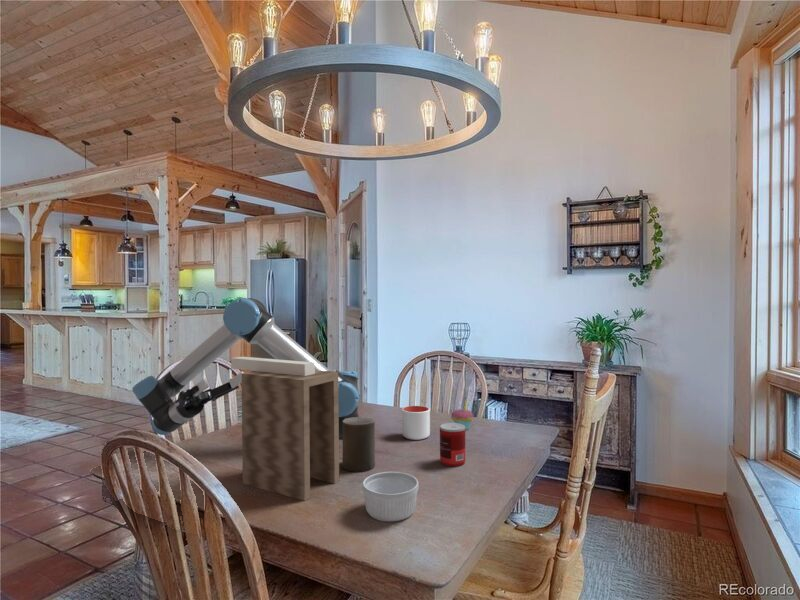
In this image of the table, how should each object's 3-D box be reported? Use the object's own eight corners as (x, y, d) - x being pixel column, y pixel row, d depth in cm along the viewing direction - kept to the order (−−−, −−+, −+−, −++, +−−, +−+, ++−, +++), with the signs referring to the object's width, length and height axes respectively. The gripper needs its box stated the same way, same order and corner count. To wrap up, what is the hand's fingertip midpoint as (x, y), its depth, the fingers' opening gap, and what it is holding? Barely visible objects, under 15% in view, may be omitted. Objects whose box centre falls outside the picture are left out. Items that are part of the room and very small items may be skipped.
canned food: (467, 459, 144) (467, 423, 144) (462, 468, 137) (462, 430, 137) (443, 456, 147) (443, 421, 147) (437, 465, 139) (436, 428, 139)
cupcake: (477, 427, 179) (476, 396, 179) (467, 432, 172) (467, 400, 172) (456, 424, 184) (456, 393, 184) (447, 429, 177) (446, 397, 177)
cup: (427, 441, 162) (427, 412, 162) (399, 440, 164) (399, 411, 164) (431, 433, 172) (431, 406, 172) (405, 431, 174) (404, 405, 174)
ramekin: (422, 523, 104) (421, 492, 104) (362, 526, 103) (362, 495, 103) (415, 498, 117) (415, 470, 117) (362, 500, 116) (362, 472, 116)
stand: (242, 483, 127) (241, 373, 126) (279, 467, 139) (278, 366, 138) (304, 500, 116) (303, 380, 115) (339, 481, 128) (338, 372, 128)
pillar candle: (366, 474, 133) (367, 421, 133) (336, 469, 136) (336, 418, 136) (380, 462, 142) (380, 413, 142) (351, 459, 145) (351, 411, 145)
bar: (231, 368, 136) (231, 358, 136) (242, 366, 139) (241, 356, 139) (304, 375, 122) (304, 364, 122) (314, 373, 125) (314, 362, 125)
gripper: (223, 409, 159) (261, 383, 150) (153, 427, 137) (193, 398, 128) (215, 389, 161) (253, 362, 152) (145, 404, 139) (184, 373, 130)
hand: (225, 378), depth 140 cm, fingers open, 13 cm apart
